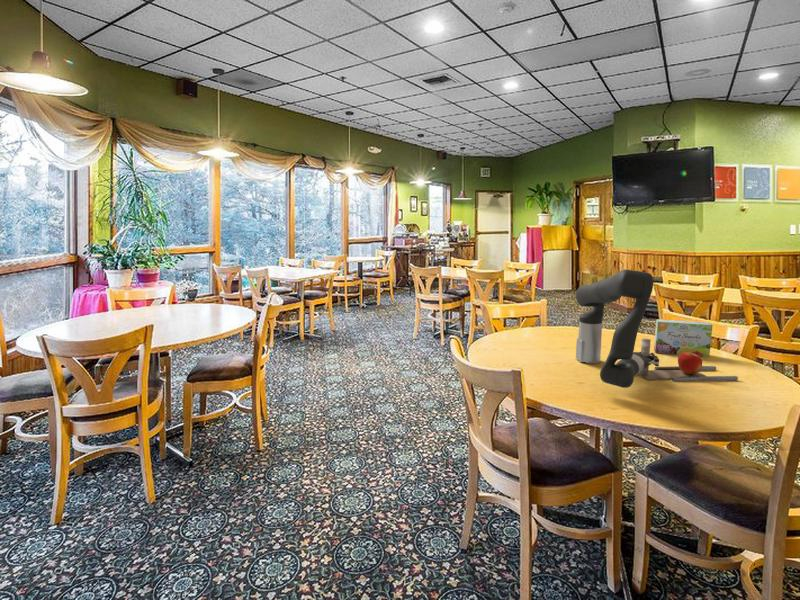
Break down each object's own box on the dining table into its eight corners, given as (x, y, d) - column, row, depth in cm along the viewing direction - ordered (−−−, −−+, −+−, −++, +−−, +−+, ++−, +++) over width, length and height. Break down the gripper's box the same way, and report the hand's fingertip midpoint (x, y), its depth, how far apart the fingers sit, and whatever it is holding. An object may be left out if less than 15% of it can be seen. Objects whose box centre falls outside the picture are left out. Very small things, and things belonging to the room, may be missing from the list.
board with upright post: (646, 380, 178) (648, 342, 176) (633, 371, 188) (636, 336, 186) (710, 379, 178) (713, 341, 175) (694, 371, 188) (697, 335, 185)
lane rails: (673, 381, 176) (673, 377, 176) (654, 370, 190) (654, 366, 189) (737, 380, 176) (738, 376, 176) (714, 369, 189) (714, 366, 189)
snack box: (655, 353, 214) (657, 321, 211) (653, 350, 219) (656, 318, 216) (709, 357, 206) (712, 324, 203) (706, 354, 211) (709, 321, 208)
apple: (674, 370, 188) (676, 345, 186) (696, 371, 185) (699, 346, 184) (680, 376, 180) (682, 351, 178) (704, 377, 178) (706, 352, 176)
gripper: (654, 358, 166) (668, 348, 179) (613, 351, 176) (629, 342, 188) (653, 378, 167) (666, 367, 180) (612, 370, 177) (628, 360, 189)
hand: (647, 354), depth 184 cm, fingers closed on board with upright post, 3 cm apart
